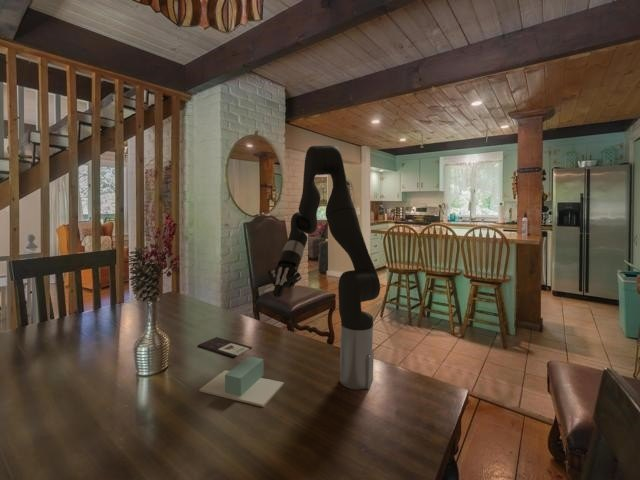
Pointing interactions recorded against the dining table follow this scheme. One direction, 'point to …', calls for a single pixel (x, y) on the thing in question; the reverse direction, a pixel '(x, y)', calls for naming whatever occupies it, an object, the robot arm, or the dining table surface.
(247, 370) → the teal block
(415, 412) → the dining table surface
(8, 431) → the dining table surface
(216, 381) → the cream mat
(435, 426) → the dining table surface
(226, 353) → the chocolate bar
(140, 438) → the dining table surface
